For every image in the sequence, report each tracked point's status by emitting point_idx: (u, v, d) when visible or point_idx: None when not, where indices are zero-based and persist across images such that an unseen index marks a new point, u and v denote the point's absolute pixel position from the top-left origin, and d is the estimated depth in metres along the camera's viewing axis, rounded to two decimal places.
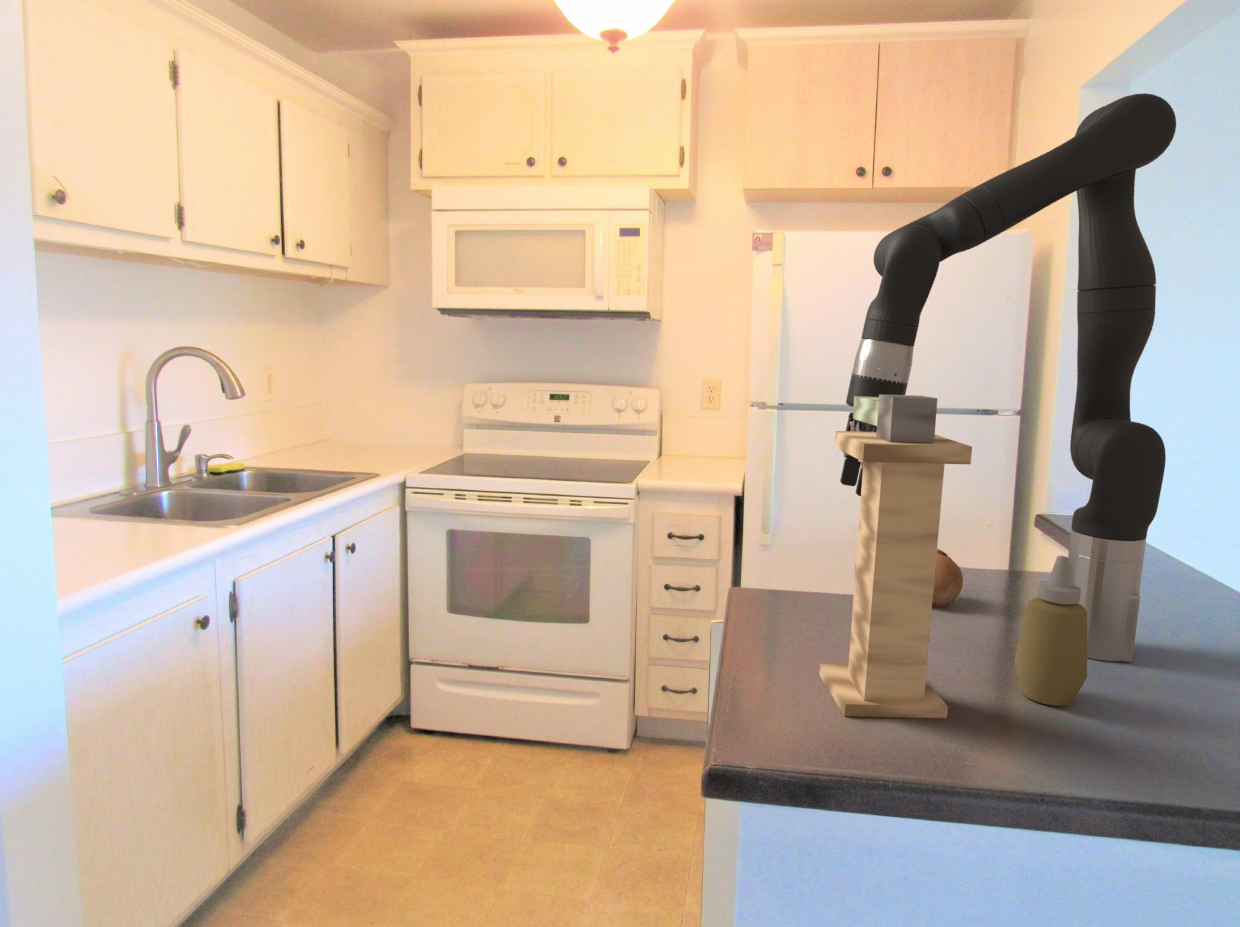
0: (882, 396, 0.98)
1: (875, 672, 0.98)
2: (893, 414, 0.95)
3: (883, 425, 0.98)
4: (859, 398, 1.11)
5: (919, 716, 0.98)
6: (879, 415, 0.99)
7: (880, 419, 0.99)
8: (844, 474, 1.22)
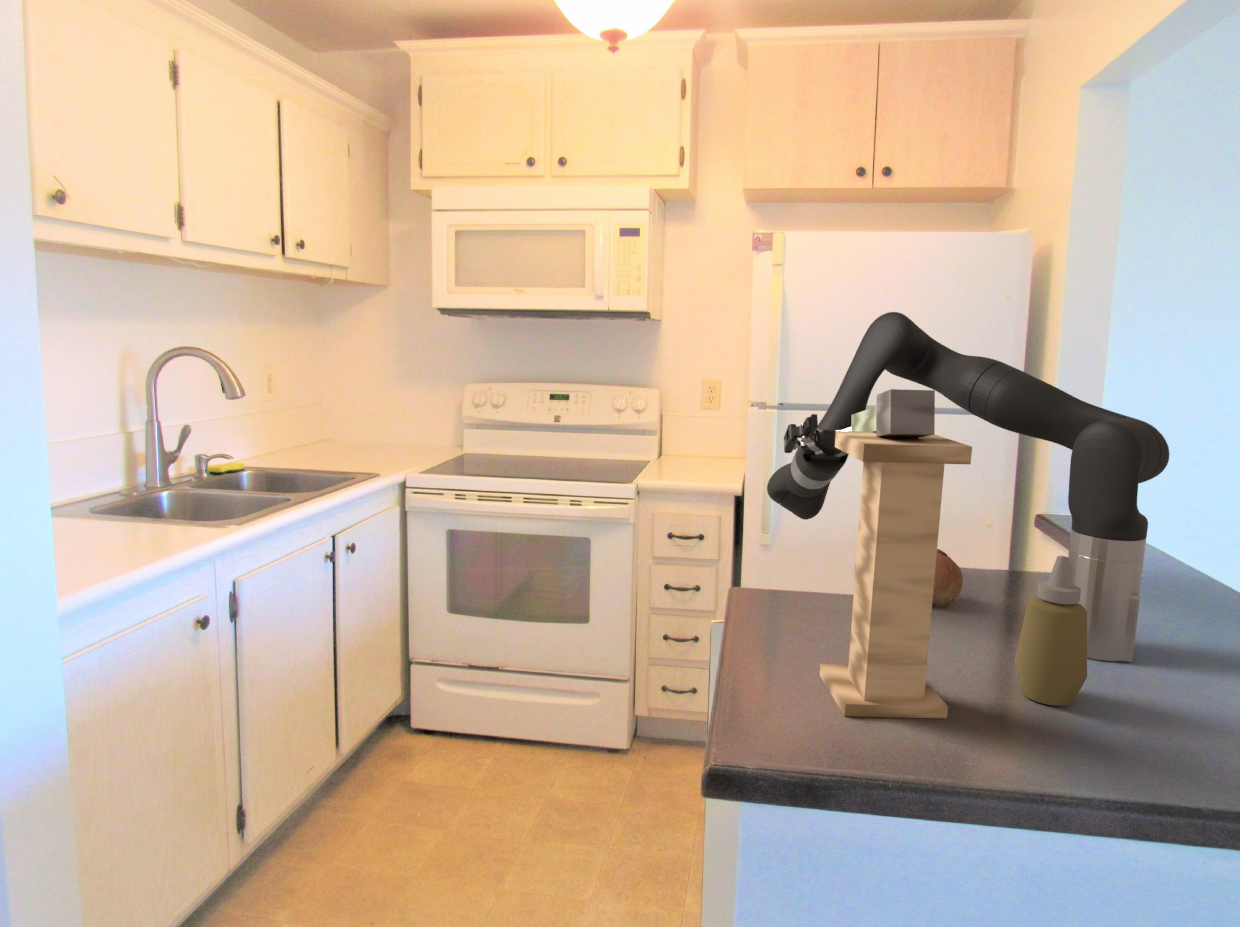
0: (880, 394, 0.99)
1: (875, 672, 0.98)
2: (892, 406, 0.95)
3: (882, 422, 0.98)
4: (856, 414, 1.11)
5: (919, 716, 0.98)
6: (878, 414, 1.00)
7: (879, 417, 0.99)
8: None
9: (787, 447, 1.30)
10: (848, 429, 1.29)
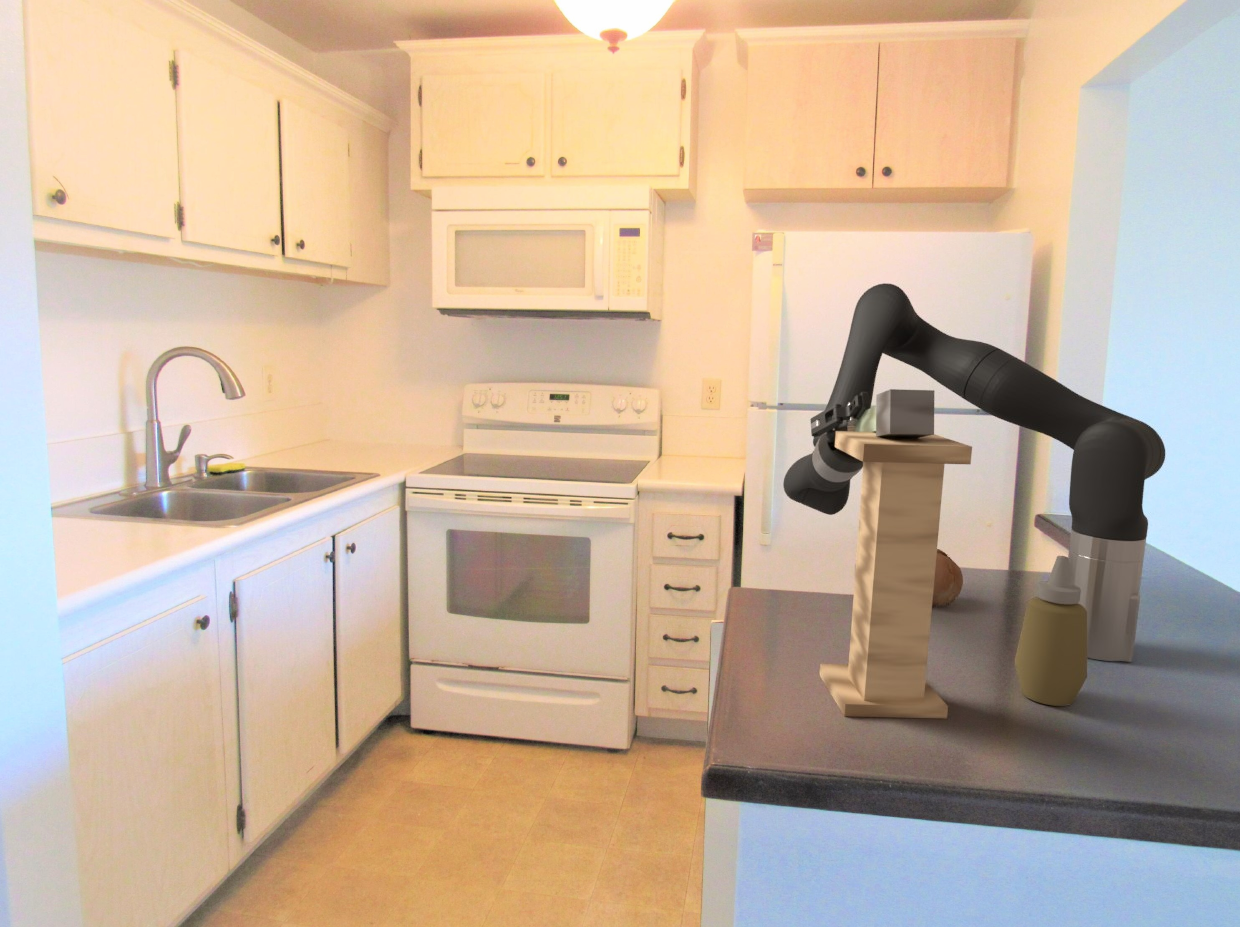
0: (879, 394, 0.99)
1: (875, 672, 0.98)
2: (892, 406, 0.95)
3: (882, 422, 0.98)
4: None
5: (919, 716, 0.98)
6: (878, 414, 1.00)
7: (879, 417, 0.99)
8: None
9: (821, 430, 1.14)
10: None
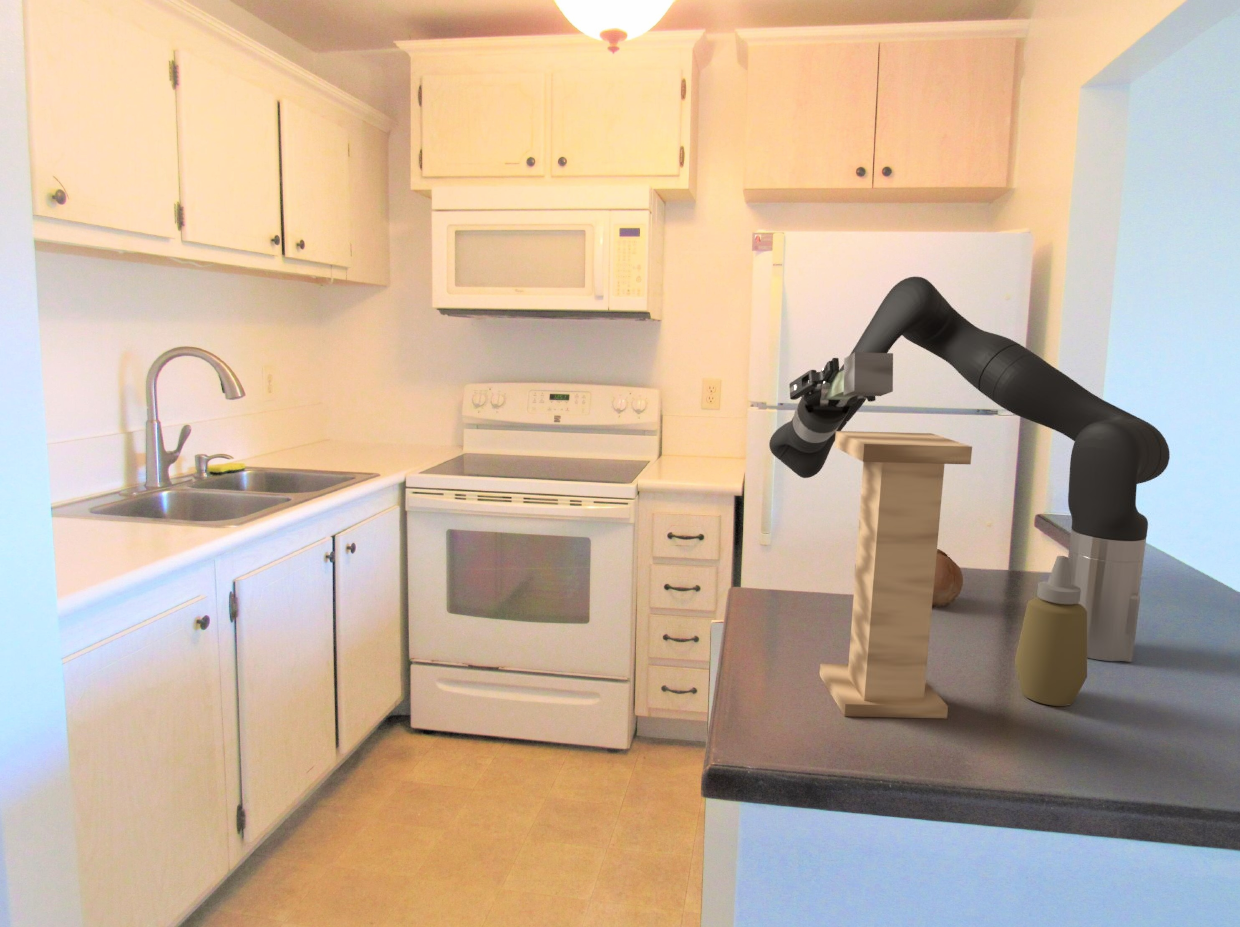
0: (846, 358, 1.13)
1: (875, 672, 0.98)
2: (856, 367, 1.09)
3: (848, 381, 1.12)
4: None
5: (919, 716, 0.98)
6: (845, 375, 1.14)
7: (846, 378, 1.13)
8: None
9: (799, 393, 1.28)
10: None
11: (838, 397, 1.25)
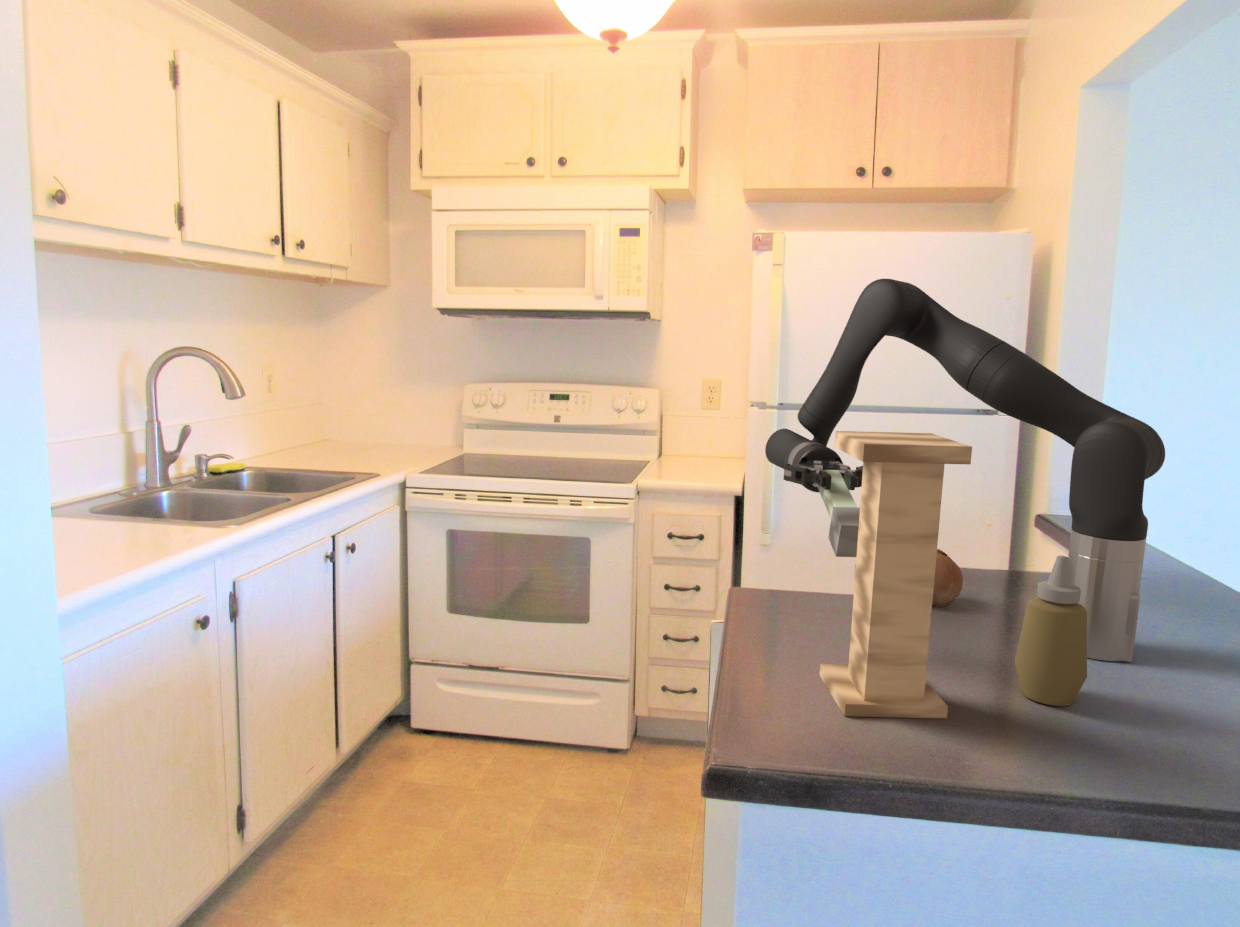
0: (834, 512, 1.17)
1: (875, 672, 0.98)
2: (840, 537, 1.14)
3: (833, 536, 1.17)
4: None
5: (919, 716, 0.98)
6: (831, 524, 1.18)
7: (832, 528, 1.18)
8: (847, 487, 1.25)
9: (791, 481, 1.31)
10: (836, 466, 1.30)
11: None
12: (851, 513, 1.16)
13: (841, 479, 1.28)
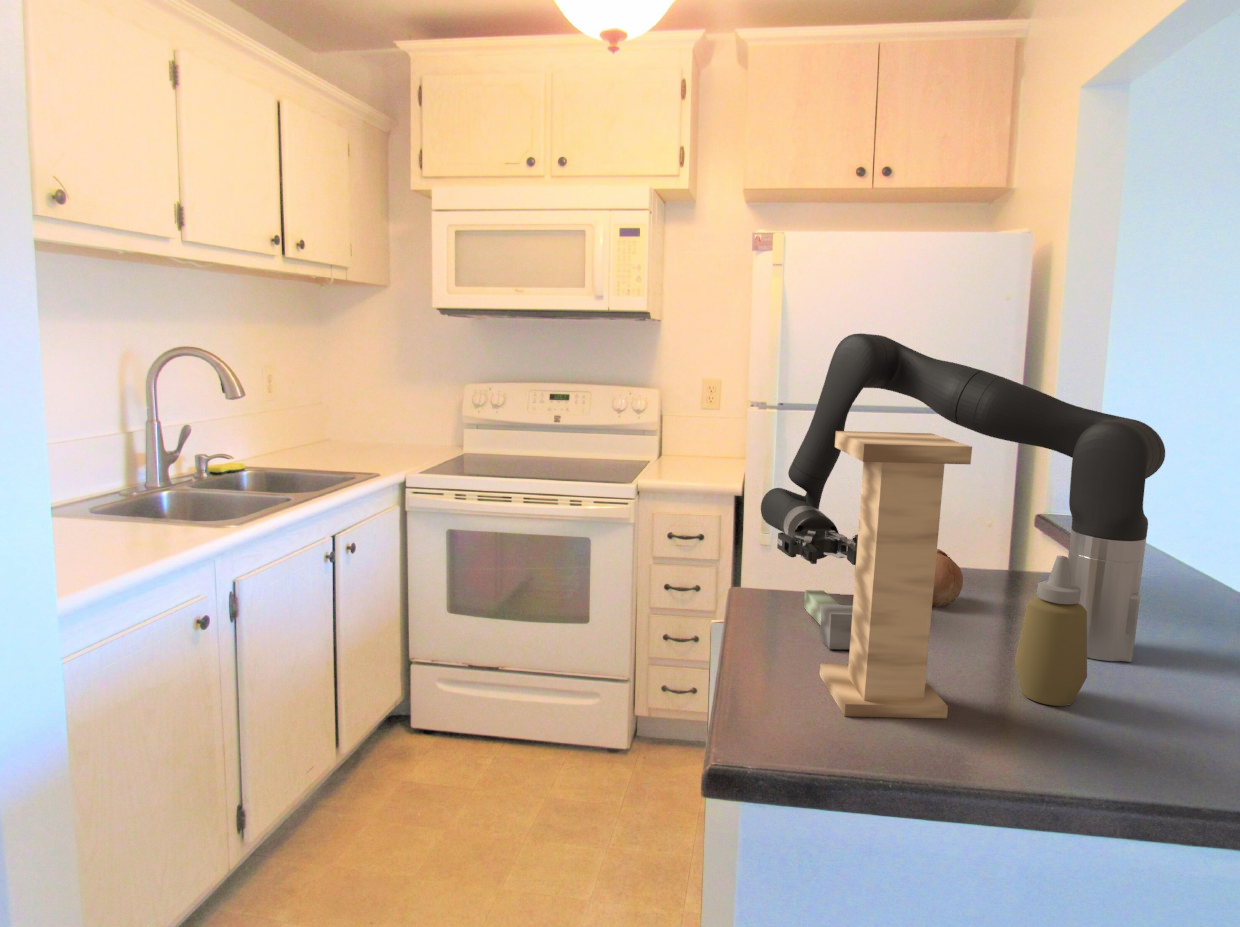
0: (823, 608, 1.22)
1: (875, 672, 0.98)
2: (831, 627, 1.18)
3: (824, 632, 1.21)
4: (808, 594, 1.34)
5: (919, 716, 0.98)
6: (821, 622, 1.22)
7: (822, 626, 1.22)
8: (851, 561, 1.27)
9: None
10: (836, 537, 1.32)
11: None
12: (839, 608, 1.21)
13: (826, 595, 1.33)
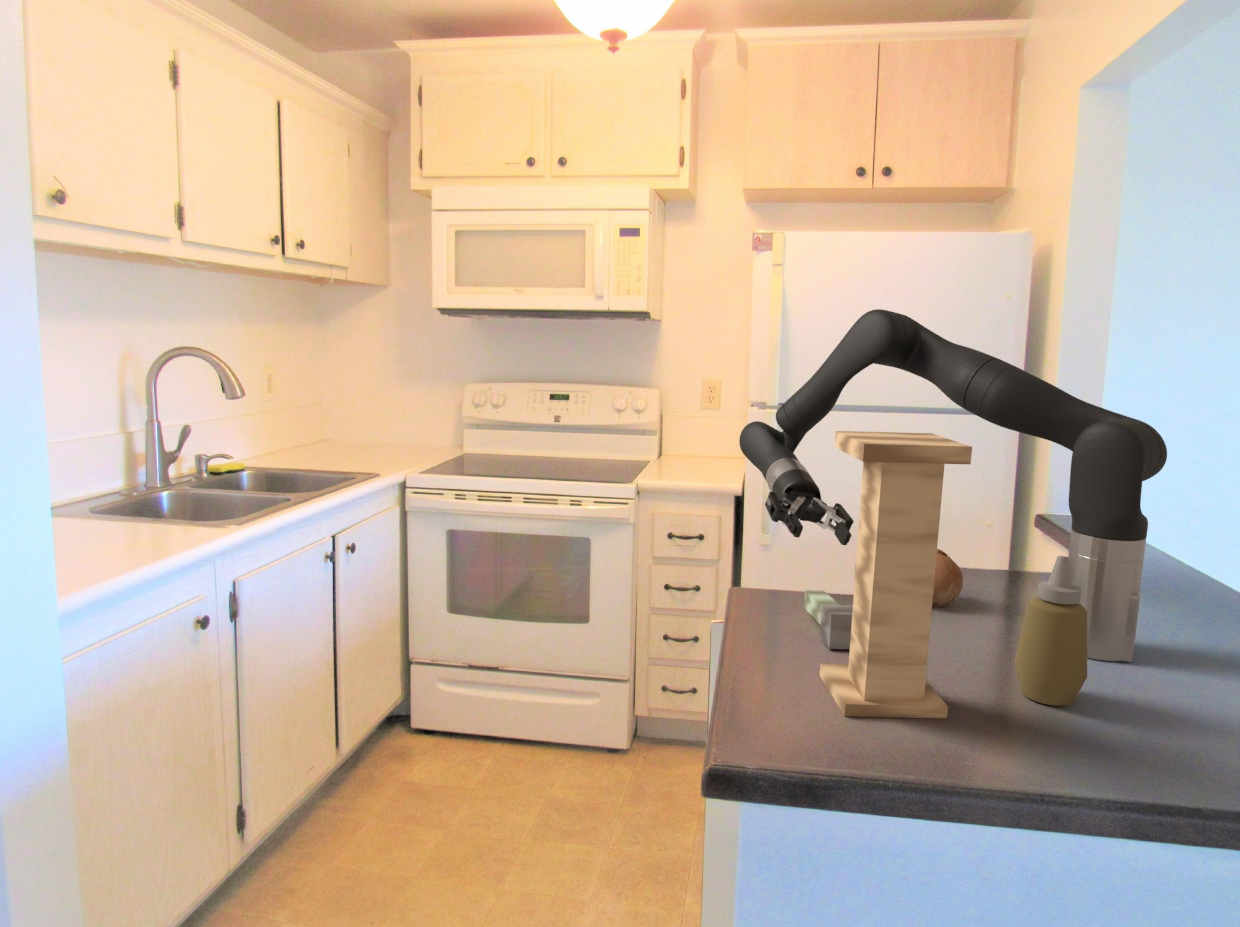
0: (823, 608, 1.22)
1: (875, 672, 0.98)
2: (831, 627, 1.18)
3: (824, 632, 1.21)
4: (808, 594, 1.34)
5: (919, 716, 0.98)
6: (821, 622, 1.22)
7: (822, 626, 1.22)
8: (839, 539, 1.39)
9: None
10: (826, 510, 1.42)
11: None
12: (839, 608, 1.21)
13: (826, 595, 1.33)
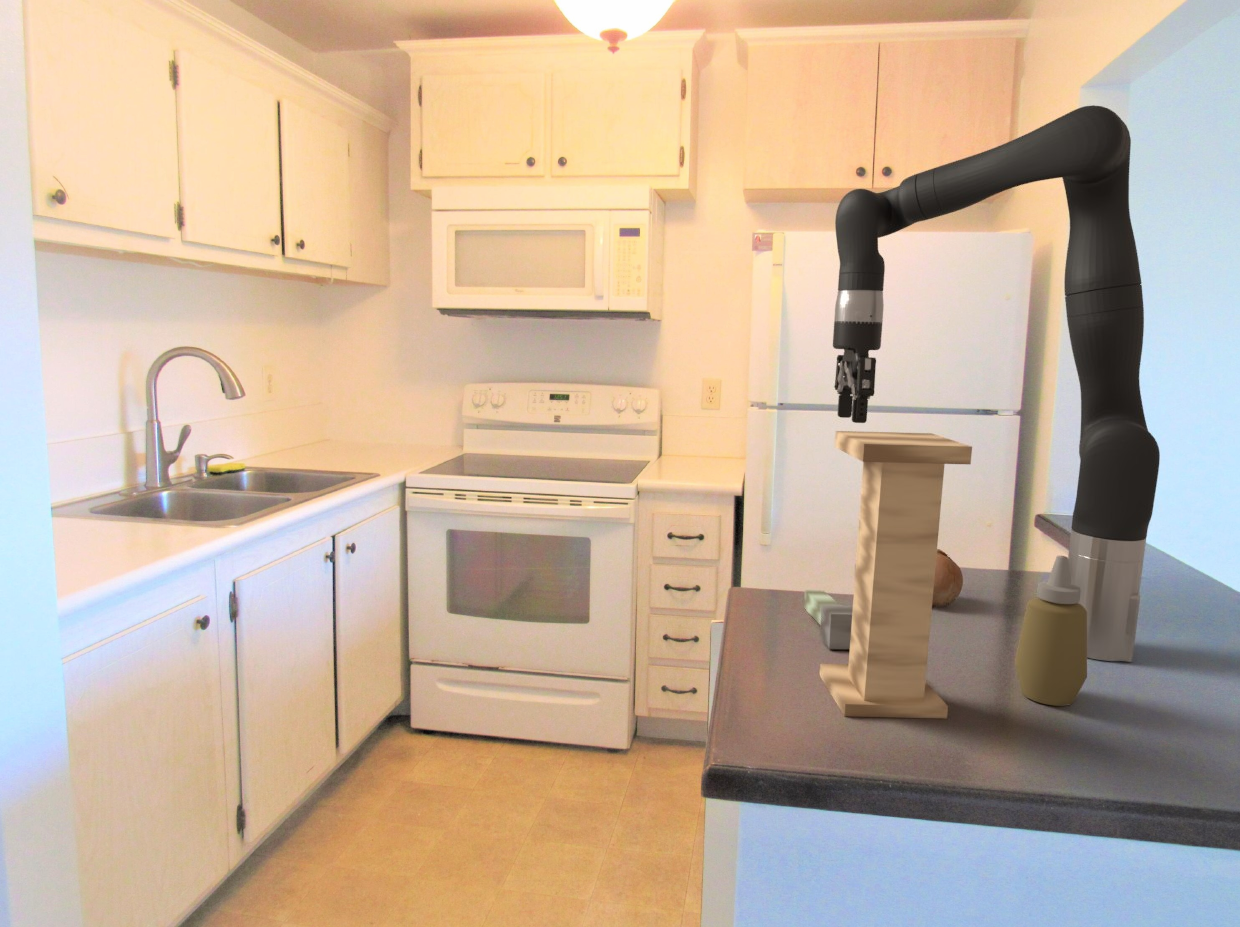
0: (823, 608, 1.22)
1: (875, 672, 0.98)
2: (831, 627, 1.18)
3: (824, 632, 1.21)
4: (808, 594, 1.34)
5: (919, 716, 0.98)
6: (821, 622, 1.22)
7: (822, 626, 1.22)
8: (840, 408, 1.42)
9: (859, 372, 1.31)
10: None
11: None
12: (839, 608, 1.21)
13: (826, 595, 1.33)
